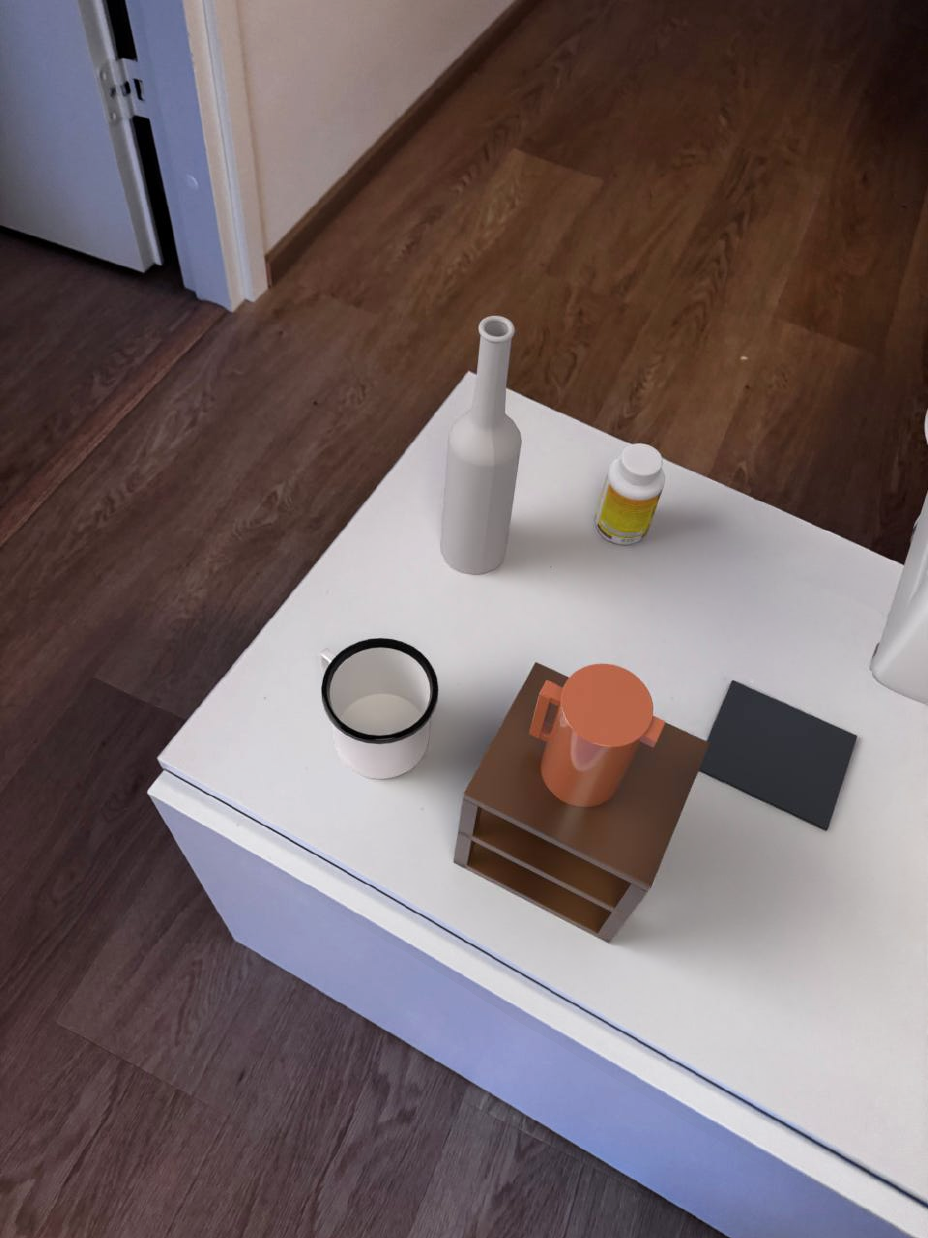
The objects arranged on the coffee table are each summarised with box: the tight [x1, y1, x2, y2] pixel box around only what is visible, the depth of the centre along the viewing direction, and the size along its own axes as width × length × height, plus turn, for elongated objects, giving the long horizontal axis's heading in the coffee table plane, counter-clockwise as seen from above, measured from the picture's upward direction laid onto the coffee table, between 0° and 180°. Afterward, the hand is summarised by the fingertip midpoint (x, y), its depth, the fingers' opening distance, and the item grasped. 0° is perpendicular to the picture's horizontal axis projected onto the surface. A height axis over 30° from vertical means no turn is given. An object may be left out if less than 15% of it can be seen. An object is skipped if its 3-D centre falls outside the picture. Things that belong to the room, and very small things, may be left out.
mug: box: [318, 637, 440, 780], centre depth 82 cm, size 12×10×9 cm
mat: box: [698, 679, 858, 832], centre depth 87 cm, size 12×10×1 cm
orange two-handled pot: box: [529, 663, 667, 807], centre depth 64 cm, size 8×6×10 cm
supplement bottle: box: [594, 442, 666, 546], centre depth 95 cm, size 6×6×10 cm
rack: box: [452, 661, 709, 944], centre depth 75 cm, size 14×12×15 cm
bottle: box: [439, 315, 523, 575], centre depth 85 cm, size 7×7×28 cm
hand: (906, 601), depth 53 cm, fingers open, 8 cm apart
